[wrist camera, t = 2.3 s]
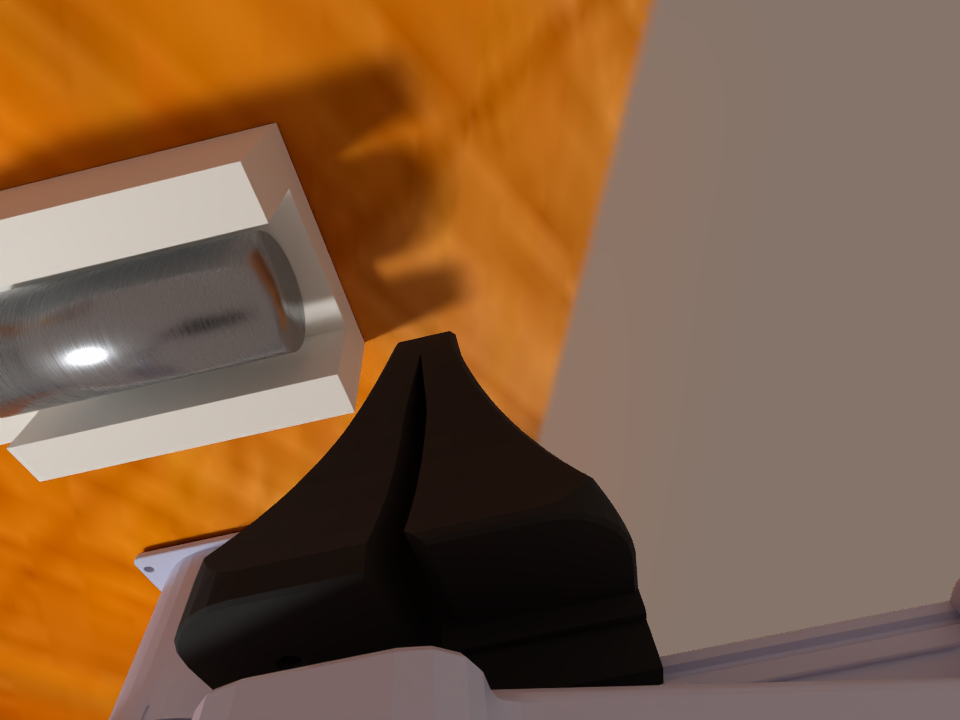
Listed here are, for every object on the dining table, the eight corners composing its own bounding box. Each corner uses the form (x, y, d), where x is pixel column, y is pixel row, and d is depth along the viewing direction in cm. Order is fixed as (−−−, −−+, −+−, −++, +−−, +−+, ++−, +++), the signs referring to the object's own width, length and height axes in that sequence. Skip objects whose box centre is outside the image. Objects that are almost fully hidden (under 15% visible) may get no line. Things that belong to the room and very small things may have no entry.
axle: (270, 215, 19) (232, 255, 15) (313, 319, 21) (288, 375, 17) (-7, 281, 19) (-104, 334, 16) (61, 377, 21) (-12, 442, 18)
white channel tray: (364, 343, 23) (354, 412, 20) (-74, 442, 24) (-161, 525, 21) (276, 122, 18) (240, 161, 15) (-278, 259, 19) (-443, 328, 15)
